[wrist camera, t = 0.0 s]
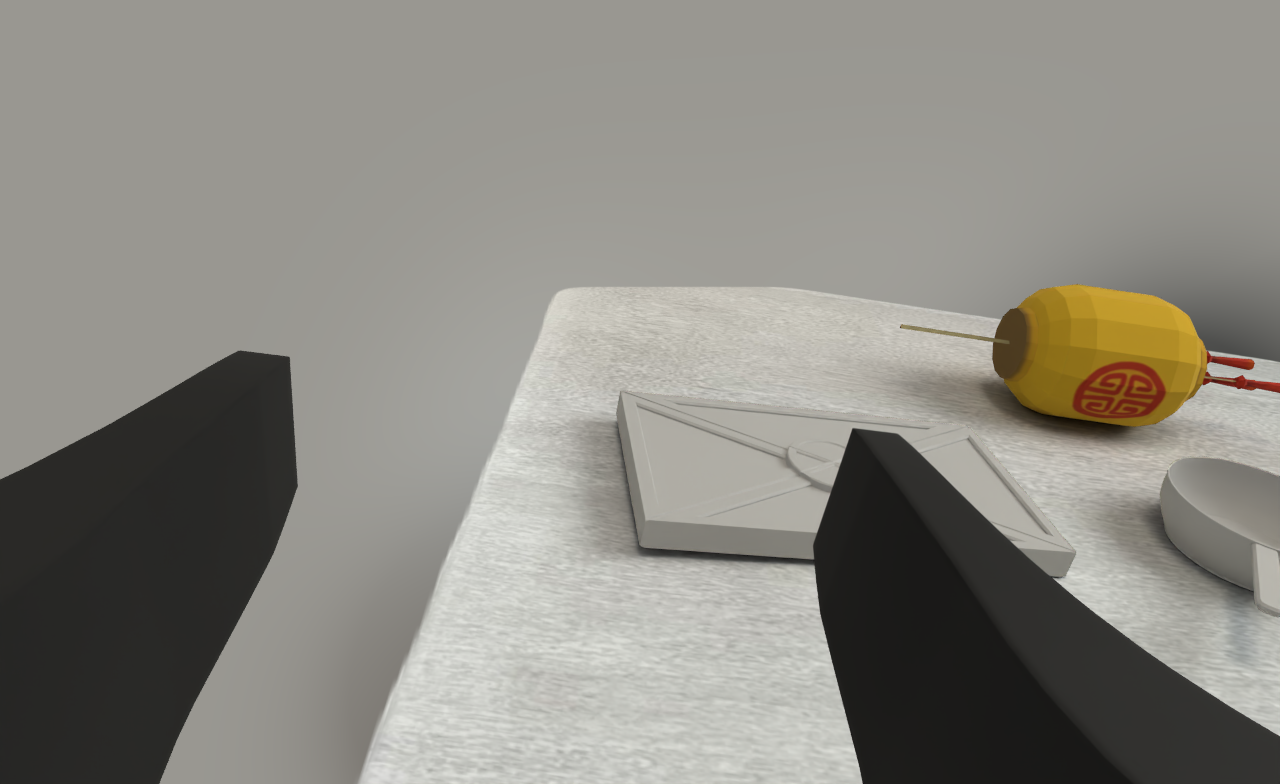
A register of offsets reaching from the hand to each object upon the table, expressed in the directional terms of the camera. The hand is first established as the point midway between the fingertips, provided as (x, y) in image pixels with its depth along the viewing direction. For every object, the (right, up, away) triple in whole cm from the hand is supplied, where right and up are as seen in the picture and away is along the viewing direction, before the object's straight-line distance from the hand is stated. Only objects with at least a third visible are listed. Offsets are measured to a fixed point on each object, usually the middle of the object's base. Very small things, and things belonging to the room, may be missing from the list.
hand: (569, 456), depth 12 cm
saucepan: (+36, -10, +41) cm, 55 cm away
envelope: (+12, -5, +43) cm, 44 cm away
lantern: (+34, -1, +59) cm, 68 cm away
